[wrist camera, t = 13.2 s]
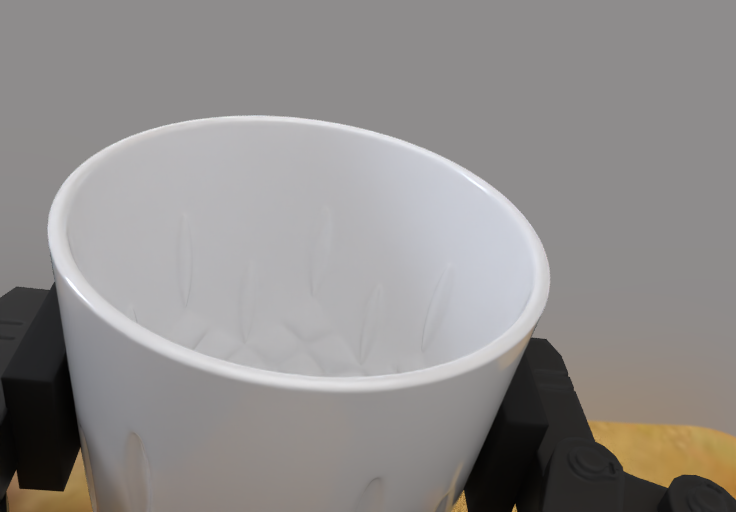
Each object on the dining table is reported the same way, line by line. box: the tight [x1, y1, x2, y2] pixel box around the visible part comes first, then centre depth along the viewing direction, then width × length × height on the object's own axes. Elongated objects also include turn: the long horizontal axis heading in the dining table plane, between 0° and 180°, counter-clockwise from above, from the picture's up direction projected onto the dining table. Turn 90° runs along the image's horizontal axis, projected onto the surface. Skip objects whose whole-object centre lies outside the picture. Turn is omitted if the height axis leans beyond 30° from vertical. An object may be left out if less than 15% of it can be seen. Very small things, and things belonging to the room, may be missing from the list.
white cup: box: [47, 116, 550, 512], centre depth 14 cm, size 8×8×10 cm
